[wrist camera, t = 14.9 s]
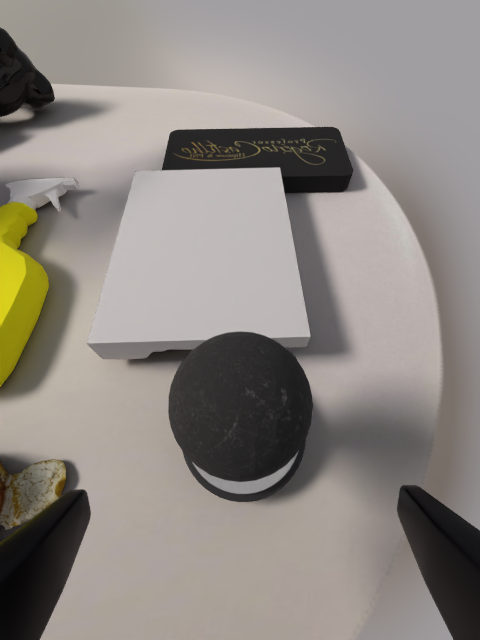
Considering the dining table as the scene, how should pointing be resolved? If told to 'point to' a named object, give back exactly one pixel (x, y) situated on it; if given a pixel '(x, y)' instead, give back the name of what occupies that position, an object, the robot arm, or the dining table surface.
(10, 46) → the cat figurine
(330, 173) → the nameplate
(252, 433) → the light bulb
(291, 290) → the food packaging
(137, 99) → the dining table surface
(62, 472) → the fruit
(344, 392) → the dining table surface
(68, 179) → the spray bottle
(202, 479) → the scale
